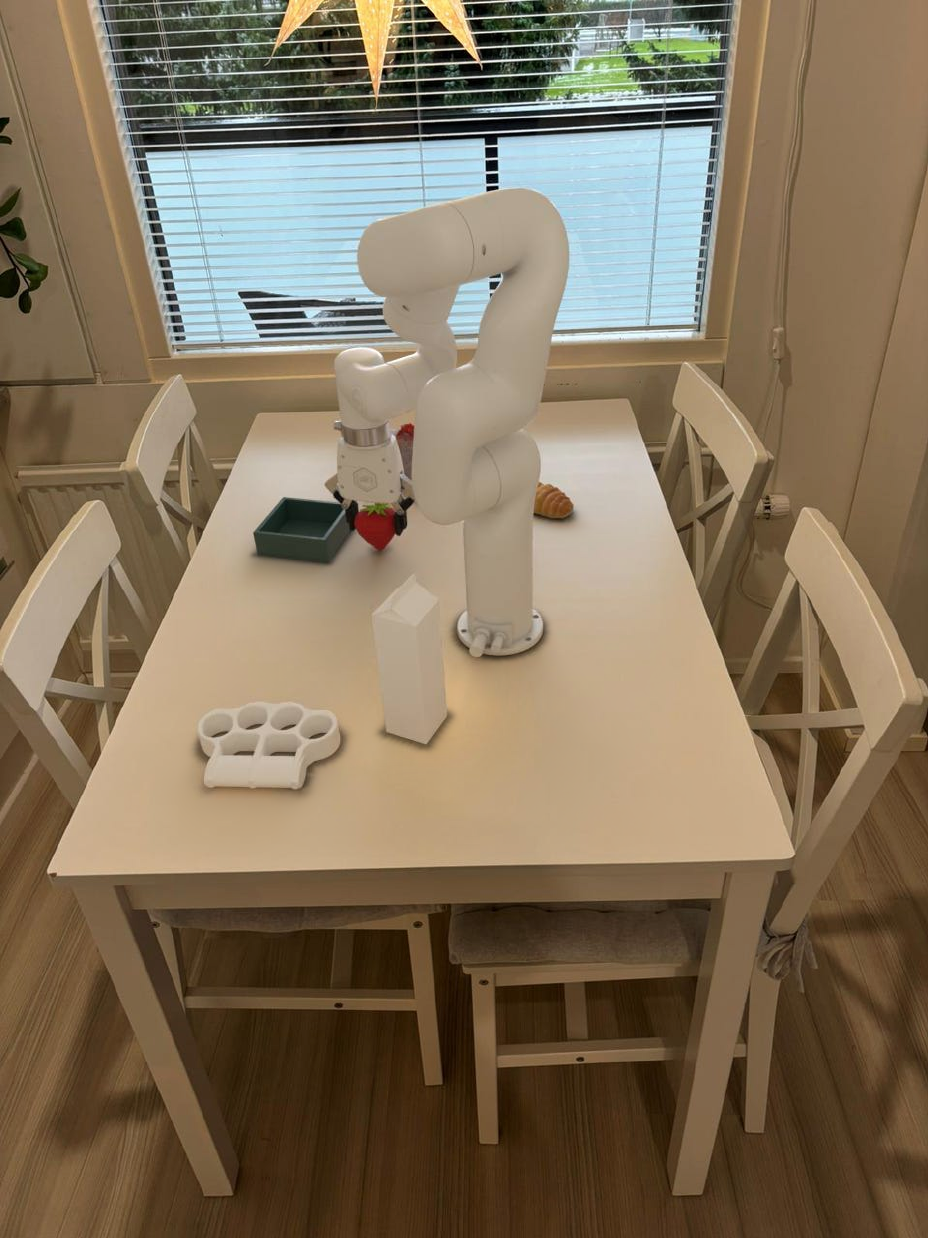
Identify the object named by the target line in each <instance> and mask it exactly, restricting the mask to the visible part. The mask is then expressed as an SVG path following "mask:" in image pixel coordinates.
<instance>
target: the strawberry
mask: <svg viewBox="0 0 928 1238" xmlns="http://www.w3.org/2000/svg"><path fill="white" fill-rule="evenodd" d="M388 505H389V504H386V503H374V504H369V505H368V504H365V505H364V504H363V505H362V507H364V508H362V509H359V513H358V514H357V515H356V516H355V521H354V525H355V527H356V529H355V530H356V531H357V534H358V535H359V536H360V537H361V538H362V539H363V540H364V541H365V542H366V543H368V544H369V545H371V546H372V547H373V548H374V549H375V550H377V551H383V550H385V549H386V548H387V546H388V545H389V543H391V541H392V540H393V538H394V537H395V535H396V533H395V524H394V514H395V513H396V511H395V509H394V508H393V507H389V506H388Z"/></svg>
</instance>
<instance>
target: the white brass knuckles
mask: <svg viewBox="0 0 928 1238" xmlns="http://www.w3.org/2000/svg"><path fill="white" fill-rule="evenodd" d="M255 725H261V726H259V727H257V728H253V729H248V728H250V727H251V726H255ZM293 725H295V726H293ZM288 726H293V727H291V728H288V729H284V728H286V727H288ZM196 731H197V736H198V739H199V742H200V746H201V749H202V752H203V753H204V754H205V755H206V756H207V757H209V759H208V761H207V764H206V766H205V770H204V774H203V775H204V776H203V784H204V786H205V787H207V788H210V789H211V788H212V789H213V788H214V787H222V788H223V787H224V788H227V787H228V788H250V789H256V788H265V789H267V788H270V789H271V788H272V789H292V790H298V789H301V788H302V787H303V786H304V783H305V780H306V775H307V769H308V767H309V766H310V765H312V764H313V763H314V762H316V761H322V760H325V759H327V758H329V757H331V756H332V755H333V754H335V753H336V752H337V750H338V749H339V748H340V745H341V734H340V727H339V721H338V718H337V717H336V715H335V714H334V712H332V711H330V710H328V709H320V710H319V709H318V710H316V709H309V708H307V707H305V706H303V705H302V703H297V702H292V701H284V702H280V703H270V702H266V701H263V700H261V701H260V700H259V701H253V702H249V703H246V704H244V705H242V706H239V707H235V708H220V707H219V708H215V709H213V710H211V711H209V712H207V713H206V714H204V715H203V716H202V717H201V718H200V720H199V721H198V723H197V725H196ZM224 732H227V733H225V734H224V735H221V736H215V735H217V734H219V733H224ZM319 734H324V735H322V736H320V737H318V738H311V737H313V736H315V735H319ZM214 736H215V737H214ZM238 752H254V753H253V754H252V755H244V754H243V755H240V754H239V755H237V753H238ZM274 753H295V755H294V756H293V755H272V754H274ZM235 754H236V755H235Z"/></svg>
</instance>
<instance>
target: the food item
mask: <svg viewBox="0 0 928 1238" xmlns="http://www.w3.org/2000/svg"><path fill="white" fill-rule="evenodd" d="M391 435H394V436H395V438H396V440H397V443H398V447H399V450H400V454H401V458H402V463H403V469H404V475H405V476H406V477H408V478H409V479H410V480H411V481H412V456H413V440H414V424H413V423H411V422H409V423H405V424H402V425H400V429H393V428H391Z"/></svg>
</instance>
